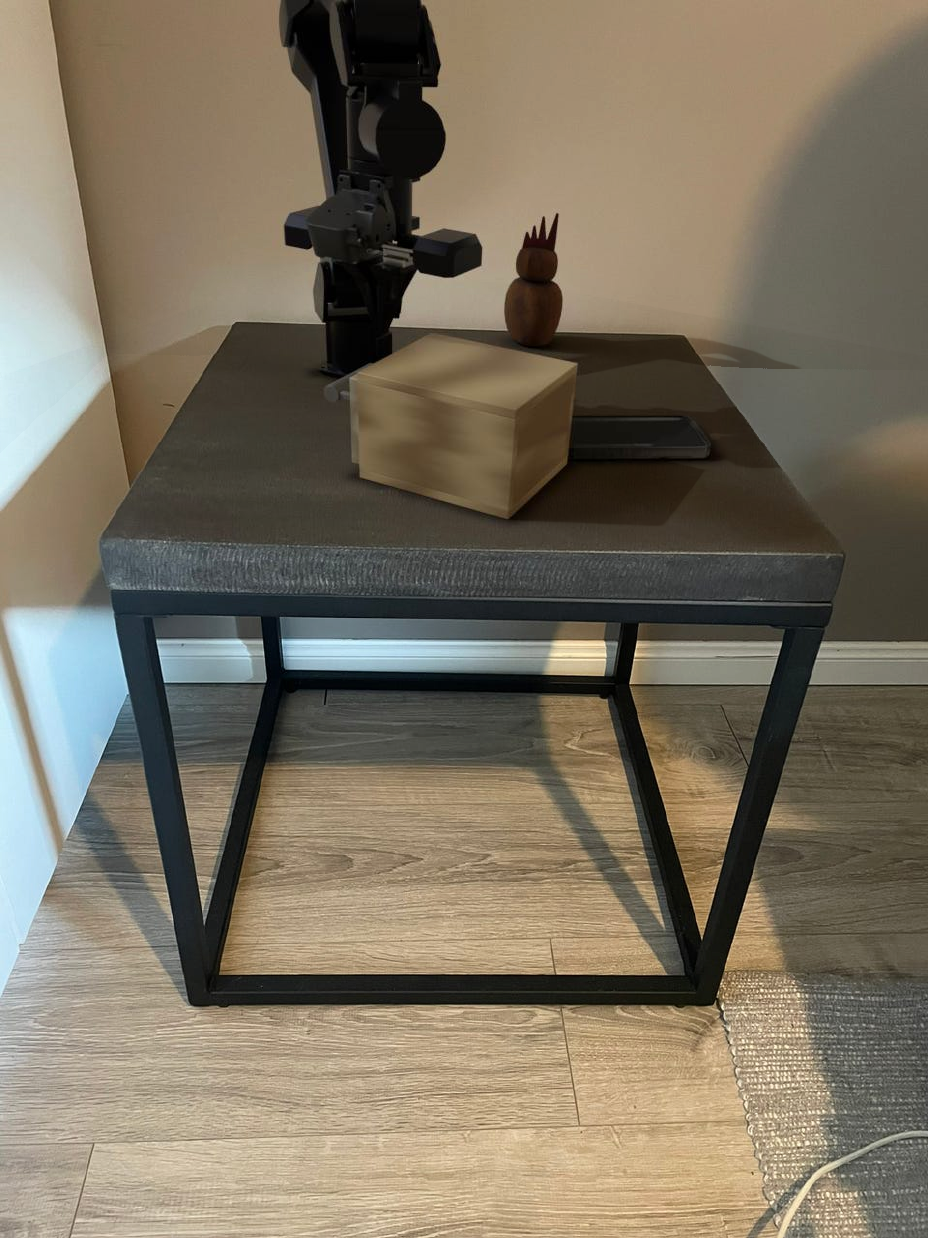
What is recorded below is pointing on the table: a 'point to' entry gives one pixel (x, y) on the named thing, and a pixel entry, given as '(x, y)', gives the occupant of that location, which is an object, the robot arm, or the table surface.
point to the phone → (636, 437)
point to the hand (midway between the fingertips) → (381, 332)
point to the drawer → (349, 391)
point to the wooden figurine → (535, 290)
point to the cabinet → (465, 422)
